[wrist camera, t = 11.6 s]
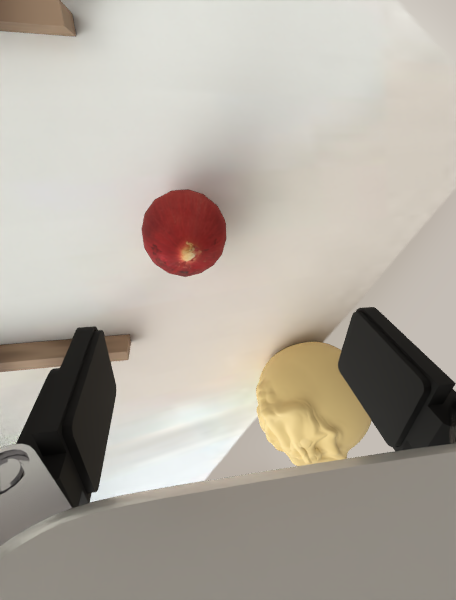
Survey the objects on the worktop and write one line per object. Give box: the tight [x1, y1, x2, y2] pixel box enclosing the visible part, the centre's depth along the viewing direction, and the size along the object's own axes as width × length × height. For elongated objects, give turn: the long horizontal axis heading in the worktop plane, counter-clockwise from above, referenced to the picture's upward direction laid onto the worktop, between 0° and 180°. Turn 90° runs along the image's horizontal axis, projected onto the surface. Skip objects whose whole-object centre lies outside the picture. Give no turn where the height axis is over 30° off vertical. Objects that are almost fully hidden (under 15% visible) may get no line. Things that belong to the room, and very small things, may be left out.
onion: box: [142, 190, 226, 277], centre depth 21 cm, size 6×6×8 cm
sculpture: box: [256, 342, 372, 466], centre depth 31 cm, size 11×12×11 cm
